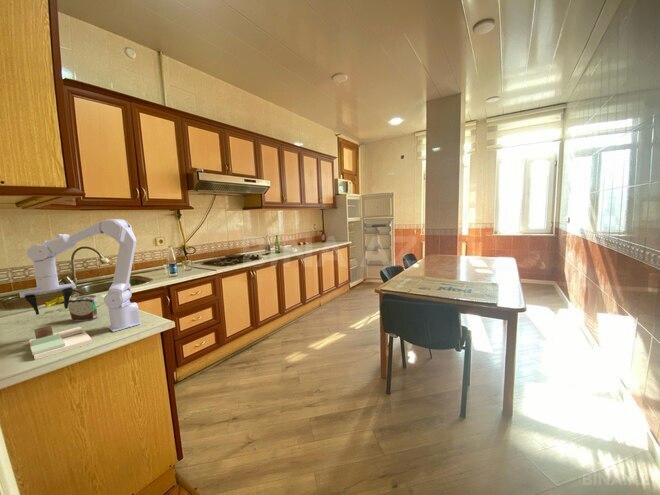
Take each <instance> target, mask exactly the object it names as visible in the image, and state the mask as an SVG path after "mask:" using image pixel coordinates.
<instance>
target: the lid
mask: <svg viewBox="0 0 660 495" xmlns="http://www.w3.org/2000/svg"><path fill="white" fill-rule="evenodd" d="M63 339H64V338H59V334H55V335H51V336H47V337H43V338H39V339H35V340H32V345H33V346H30V345H29V347H30V351H31V354H32V356H33V355H34V354H38V353H41V352H45V351H48V350H52V349H55V348H58V347H62V346H65V342H64V341H63Z"/></svg>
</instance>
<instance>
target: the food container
mask: <svg viewBox="0 0 660 495" xmlns="http://www.w3.org/2000/svg"><path fill="white" fill-rule="evenodd" d="M97 302H99V298H98V296H97V295H95V294H88V295H79V296H73V297H70V298H69V302H68V308H67V309H68V311H69V315H70V319H71V322H79V321H94V320H96V319H97V318H98V308H97V307H98V306H97V305H98V304H97Z"/></svg>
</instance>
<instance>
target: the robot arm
mask: <svg viewBox="0 0 660 495" xmlns="http://www.w3.org/2000/svg"><path fill="white" fill-rule="evenodd" d="M132 227H133V226H132V225H131V224H130V223H129V222H128V221H127V220H125V219H122V218H115V219H114V218H107V219H104V220H100V221H97V222H95V223H93V224H90V225H88V226H87V227H85V228H83V229H80V230H78V231H76V232H74V233H72V234H70V235H69V234H67V233H64V234H62V233H59V234H56V235H55V237H54V238H51V239H49V240H44V241H42V244H33V245H31V246H30V247H29V248H28V249H27V250H26V256H27V257H28V259H30V260H31V261H32V265H33V271H34V278H35V282H36V288H33V289H28V290H22V291H19V297H20V299H21V298H24V299H25V301H27V302H28V303H29V305H30V306H31V307H32V308H33V310H34V312H35V315H36V316H37V315H40V311H39V309H38V308H39V307H38V304H37V297H36V296H37V295H43V294H44V295H45V294H49V293H54V292H60V291H61V294H62V297H63V307H64V309H69V308H68V302H69V298H71V297H72V296H71V295H72V294H73V289H76V288H77V287H76V284H75V283H74V282H73V283H66V284H65V283H64V284H60V282H59V276H58V271H57V264H56V257H57V256H58V255H60V254H62V253H65V252H67V251H69V250H71V249H74V248H75V247H76V246H77V244H78V242H81V241H83V240H86V239H88V238H91V237H93V236H95V235H99V234H100V235H102V234H105V235H106V236H108V237H110V238H112V239H114V240H115V241H116V242H117V243H118V244H119V248H118V253H117V258H116V263H115V264H116V265H115V269H114V274H113V278H112V280H113V281H112V284H111V285H110V287H109V288H108V292H107V294H106V295H105V296H104V298H103V302H104V305H105V306H106V307H108V308H107V309H108V315H109V323H110V325H108V326H107V328H108V329H109V330H110V331H111V332H114V333H115V332H118V331H121V330H125V329H127V328H131V327H135V326H139V325H141V324H142V322H141V316H140V310H139V306H138V303H137V302H131V301H130V299H132V295H133V293H132V290H131V287H132V285H131V284H130V279H131V275H132V268H133V262H134V259H135V258H134V257H135V253H136V247H137V237H136V236H135V234H134V231H133V228H132Z"/></svg>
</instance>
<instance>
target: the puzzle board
mask: <svg viewBox="0 0 660 495" xmlns="http://www.w3.org/2000/svg"><path fill="white" fill-rule="evenodd" d="M55 334H59V338H62V339H63V341H64V342H65V346H62V347H58V348H55V349H52V350H48V351H45V352H41V353H38V354H34V355H33V354H32V356H33V359H34V361H37V360H39V359H43V358H46V357H49V356H53V355H56V354H59V353H64V352H65V351H70V350H74V349H77V348H79V347H83V346H86V345H90V344H92V343H93V339H92V337H91V336H90V335H89V333H87V331H86V330H84V328H82V327H81V326H78V327H73V328H70V329H65V330H62V331H57V332H54V333H53V335H55ZM35 339H36V337H34V338H31V339H28V342H29V347H30V346H33V345H32V340H35Z"/></svg>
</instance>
